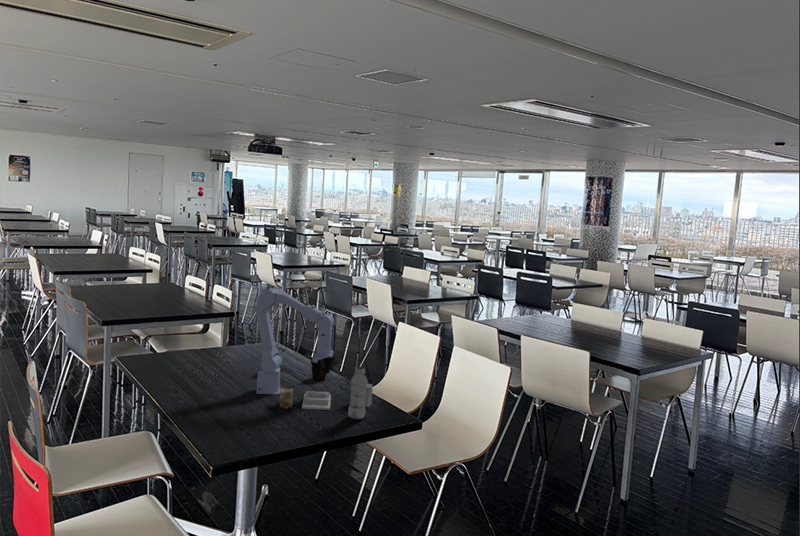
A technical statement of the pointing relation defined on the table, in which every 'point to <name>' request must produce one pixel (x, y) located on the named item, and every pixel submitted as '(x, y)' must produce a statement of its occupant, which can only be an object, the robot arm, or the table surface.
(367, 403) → the medicine box
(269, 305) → the robot arm
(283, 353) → the food container
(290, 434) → the table surface
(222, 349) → the table surface
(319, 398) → the keyed cradle
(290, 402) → the keyed peg
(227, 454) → the table surface
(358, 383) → the plastic bottle
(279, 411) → the table surface
